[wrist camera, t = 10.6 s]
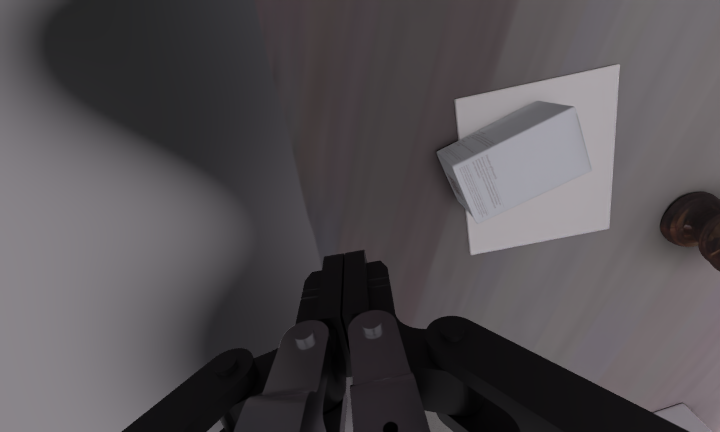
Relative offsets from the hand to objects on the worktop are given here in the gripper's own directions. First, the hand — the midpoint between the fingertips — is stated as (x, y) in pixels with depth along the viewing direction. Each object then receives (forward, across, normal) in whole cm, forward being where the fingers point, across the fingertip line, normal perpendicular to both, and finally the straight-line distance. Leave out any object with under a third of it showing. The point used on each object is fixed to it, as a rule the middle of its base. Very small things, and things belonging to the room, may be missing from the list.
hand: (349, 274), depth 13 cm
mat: (+30, -21, +8) cm, 38 cm away
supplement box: (+26, -10, +8) cm, 29 cm away
